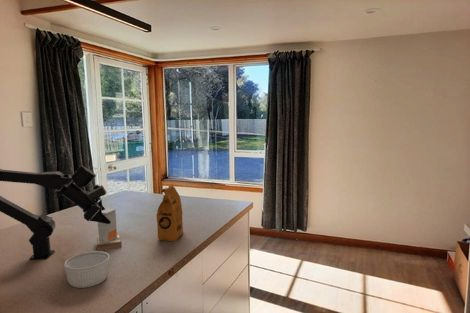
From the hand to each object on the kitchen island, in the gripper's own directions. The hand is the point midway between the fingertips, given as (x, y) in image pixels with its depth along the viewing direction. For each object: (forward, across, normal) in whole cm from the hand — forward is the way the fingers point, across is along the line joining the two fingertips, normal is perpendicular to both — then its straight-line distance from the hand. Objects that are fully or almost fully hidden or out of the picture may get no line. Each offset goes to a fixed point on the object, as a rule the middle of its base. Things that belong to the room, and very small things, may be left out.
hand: (109, 219), depth 131 cm
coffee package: (+24, 0, -9) cm, 26 cm away
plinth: (+7, 0, +8) cm, 11 cm away
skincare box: (+5, 0, +7) cm, 8 cm away
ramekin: (+3, -27, +13) cm, 30 cm away
